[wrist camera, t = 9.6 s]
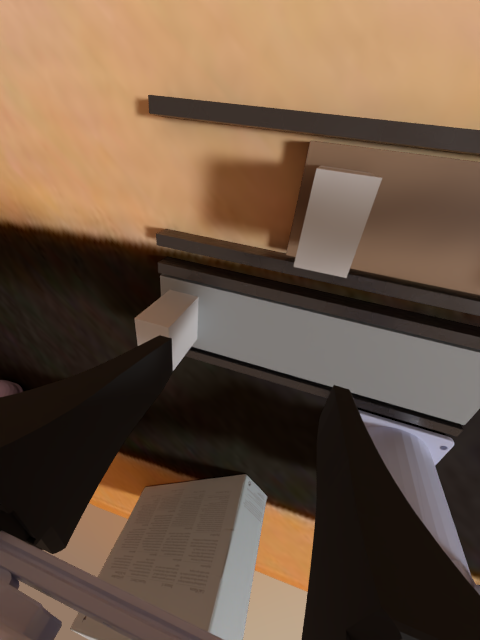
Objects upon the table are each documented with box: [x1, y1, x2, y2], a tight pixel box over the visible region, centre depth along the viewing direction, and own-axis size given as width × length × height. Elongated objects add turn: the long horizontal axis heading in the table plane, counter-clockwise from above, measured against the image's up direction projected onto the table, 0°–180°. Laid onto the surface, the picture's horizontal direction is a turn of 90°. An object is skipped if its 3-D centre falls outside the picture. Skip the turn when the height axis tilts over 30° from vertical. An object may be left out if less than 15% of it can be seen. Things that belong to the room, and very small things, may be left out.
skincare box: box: [70, 474, 267, 640], centre depth 32 cm, size 21×5×16 cm, turn 126°
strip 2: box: [135, 274, 480, 425], centre depth 18 cm, size 6×24×6 cm, turn 83°
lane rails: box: [148, 95, 480, 436], centre depth 18 cm, size 18×24×1 cm
